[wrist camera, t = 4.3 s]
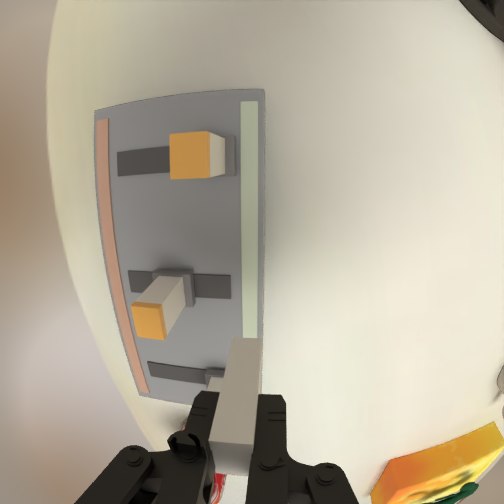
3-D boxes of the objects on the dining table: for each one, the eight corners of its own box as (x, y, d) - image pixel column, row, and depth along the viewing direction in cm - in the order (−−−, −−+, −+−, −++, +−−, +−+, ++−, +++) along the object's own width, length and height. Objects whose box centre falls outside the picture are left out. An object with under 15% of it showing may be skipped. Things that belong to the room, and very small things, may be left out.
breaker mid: (155, 269, 22) (122, 302, 17) (192, 271, 22) (166, 306, 16) (160, 299, 23) (130, 337, 17) (195, 302, 23) (173, 344, 17)
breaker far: (206, 368, 25) (191, 413, 19) (240, 371, 25) (231, 418, 19) (209, 388, 26) (196, 432, 20) (241, 391, 25) (233, 437, 20)
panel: (106, 113, 21) (93, 110, 18) (264, 95, 19) (263, 88, 17) (145, 384, 30) (139, 396, 28) (261, 398, 29) (259, 413, 27)
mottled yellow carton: (402, 515, 21) (516, 462, 18) (389, 458, 33) (493, 420, 30) (376, 537, 26) (475, 500, 24) (369, 493, 38) (462, 463, 35)
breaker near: (191, 138, 19) (158, 131, 13) (235, 136, 18) (218, 126, 13) (191, 177, 20) (159, 183, 14) (235, 175, 19) (219, 181, 14)
